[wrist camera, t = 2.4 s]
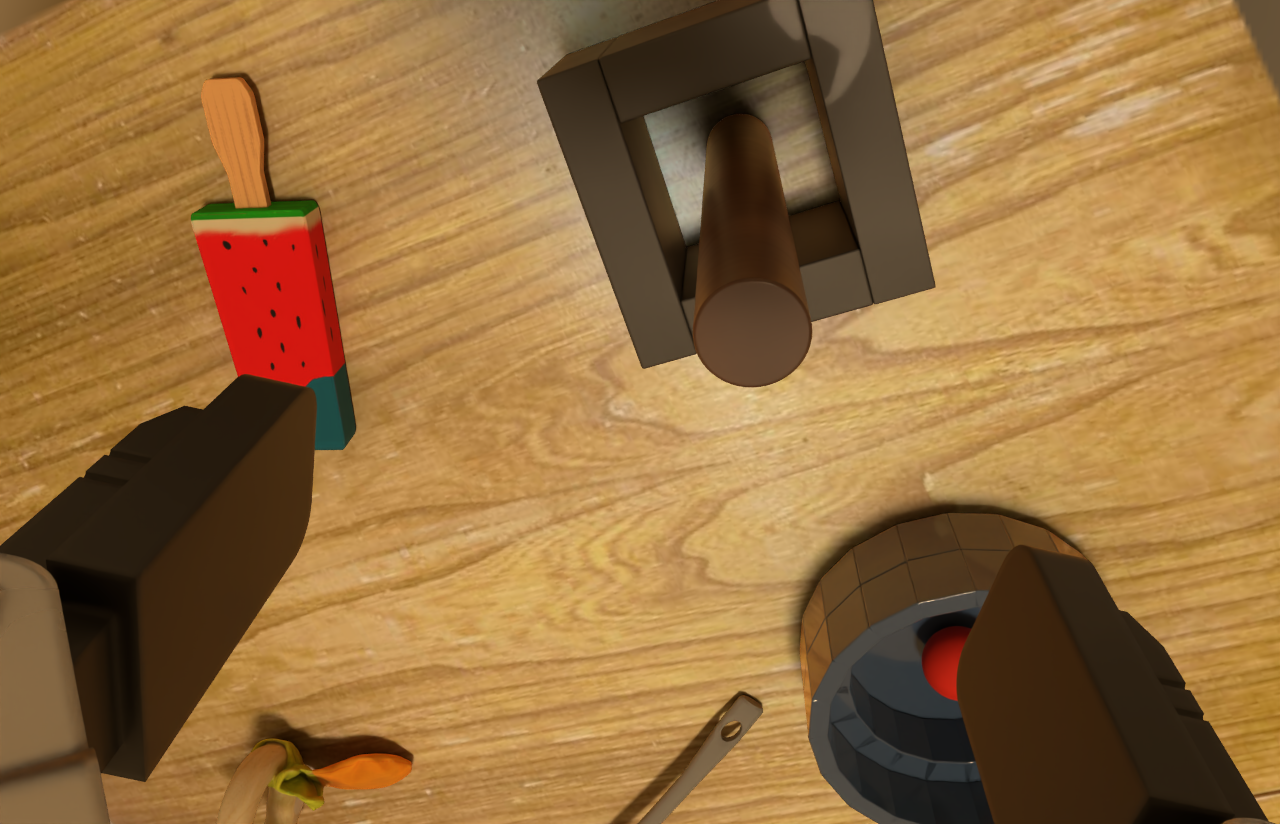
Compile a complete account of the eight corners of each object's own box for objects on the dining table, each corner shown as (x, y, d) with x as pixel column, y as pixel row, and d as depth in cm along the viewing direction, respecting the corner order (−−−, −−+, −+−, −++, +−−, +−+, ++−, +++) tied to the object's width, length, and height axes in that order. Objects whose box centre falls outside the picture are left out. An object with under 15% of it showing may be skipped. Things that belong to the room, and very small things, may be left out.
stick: (762, 104, 35) (795, 263, 19) (780, 168, 36) (825, 371, 20) (698, 125, 35) (677, 298, 19) (717, 187, 36) (712, 401, 20)
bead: (981, 604, 43) (999, 652, 40) (994, 658, 45) (1012, 709, 42) (909, 619, 44) (921, 668, 41) (923, 672, 45) (937, 723, 42)
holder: (842, -45, 33) (865, -37, 27) (905, 233, 37) (936, 288, 31) (564, 55, 35) (535, 80, 29) (653, 307, 39) (642, 370, 33)
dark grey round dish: (1082, 472, 41) (1137, 556, 35) (1122, 710, 46) (1174, 814, 41) (765, 545, 43) (771, 634, 38) (838, 761, 49) (852, 865, 44)
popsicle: (275, 78, 34) (354, 450, 41) (291, 72, 36) (366, 434, 42) (153, 84, 35) (251, 451, 42) (173, 78, 36) (265, 435, 43)
